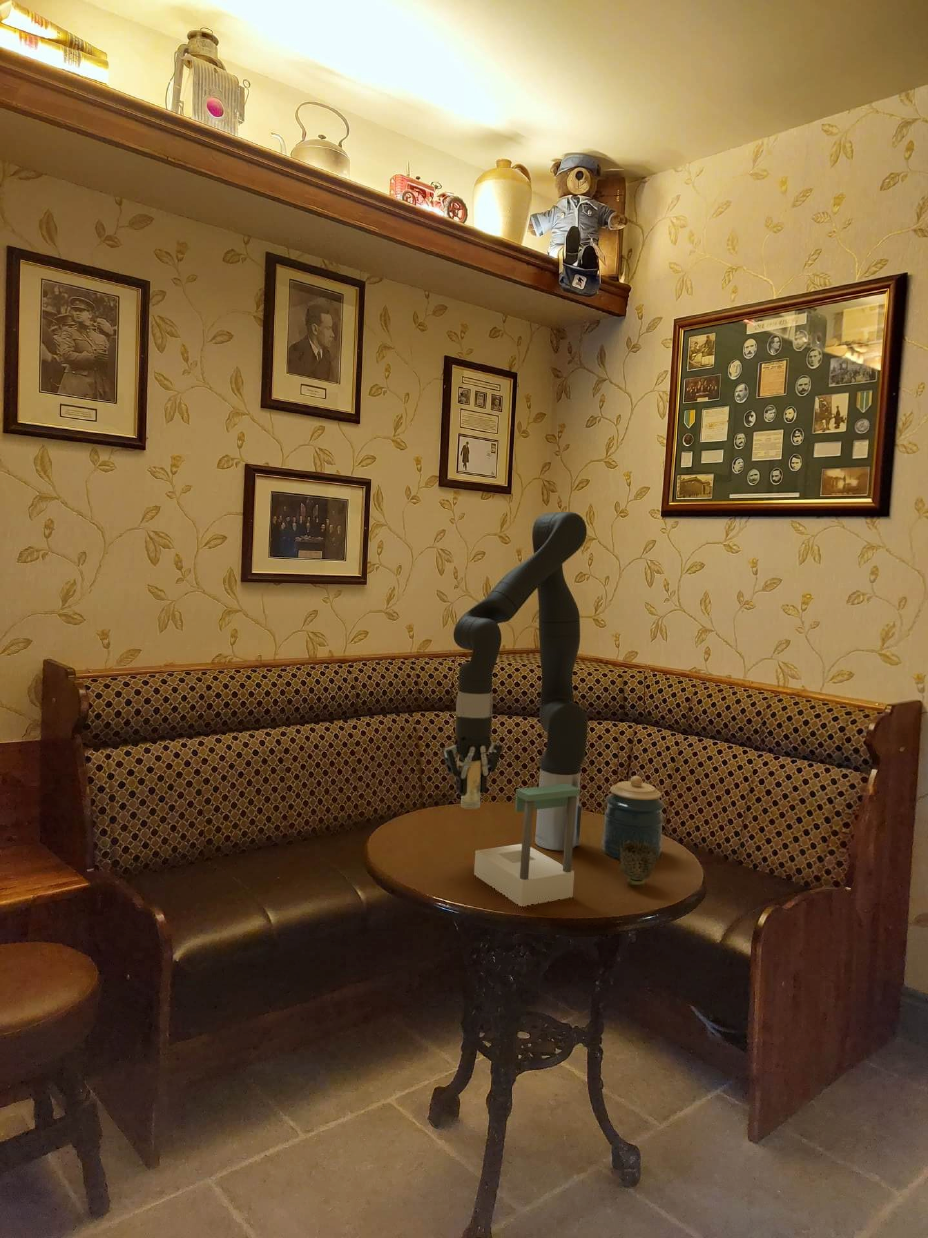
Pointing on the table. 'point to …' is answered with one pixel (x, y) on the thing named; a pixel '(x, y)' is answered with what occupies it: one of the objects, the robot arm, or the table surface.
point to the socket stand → (532, 853)
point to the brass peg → (472, 786)
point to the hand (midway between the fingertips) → (470, 793)
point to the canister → (632, 816)
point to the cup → (637, 862)
